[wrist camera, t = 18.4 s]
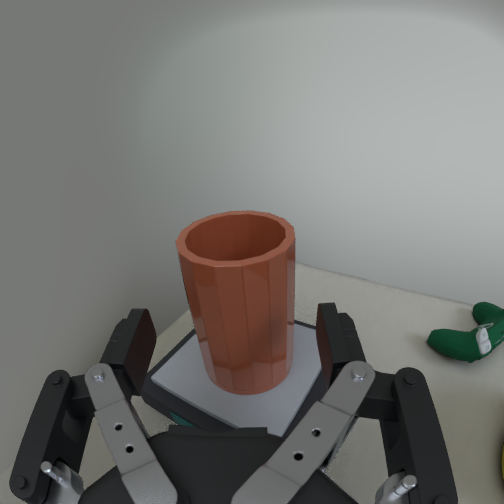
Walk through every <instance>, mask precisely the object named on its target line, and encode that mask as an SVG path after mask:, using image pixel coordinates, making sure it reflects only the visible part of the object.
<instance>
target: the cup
mask: <svg viewBox="0 0 504 504" xmlns="http://www.w3.org/2000/svg"><path fill="white" fill-rule="evenodd" d="M176 248H177V253H178V258H179V262H180V267H181V272H182V277H183V281H184V285H185V290H186V295H187V299H188V303H189V307H190V312H191V316H192V320H193V324H194V328H195V332H196V336H197V340H198V344H199V348H200V352H201V356H202V359H203V363H204V366H205V369H206V373H207V375H208V377H209V378H210V380H211V381H212V382H213V383H214V384H215V385H216V386H218V387H219V388H221V389H222V390H224V391H227V392H229V393H233V394H238V395H255V394H260V393H264V392H266V391H269V390H271V389H273V388H275V387H276V386H277V385H279V384H280V383H281V382H282V381H283V380H284V379H285V378H286V377H287V375H288V374H289V372H290V369H291V366H292V360H293V338H294V303H295V232H294V228H293V226H292V225H291V224H290V223H288V222H287V221H286V220H285V219H284V218H281V217H278V216H276V215H273V214H270V213H265V212H257V211H231V212H225V213H219V214H215V215H210V216H208V217H205V218H203V219H200V220H197V221H195V222H193V223H192V224H190V225H189V226H188V227H186V228H185V229H183V230H182V231H181V233H180V235H179V236H178V238H177V240H176Z"/></svg>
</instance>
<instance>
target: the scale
mask: <svg viewBox="0 0 504 504" xmlns="http://www.w3.org/2000/svg"><path fill="white" fill-rule="evenodd" d="M325 394H326V390H325V384H324V378H323V373H322V367H321V362H320V356H319V351H318V346H317V340H316V326H313V325H309V324H306V323H303V322H300V321H297V320H294V338H293V360H292V366H291V369H290V372H289V374H288V375H287V377H286V378H285V379H284V380H283V381H282V382H281V383H280V384H279V385H277V386H276V387H275V388H273V389H271V390H269V391H266V392H264V393H260V394H255V395H238V394H233V393H229V392H227V391H224V390H222V389H221V388H219V387H218V386H216V385H215V384H214V383H213V382H212V381H211V380H210V378H209V377H208V375H207V373H206V369H205V366H204V363H203V359H202V356H201V352H200V348H199V344H198V340H197V336H196V332H195V328H194V329H193V330H192V331H191V332H190V333H189V334H188V335H187V336H186V337H185V338H184V339H182V340H181V341H180V342H179V343H178V344H177V345H176V346H175V347H174V348H173V349H172V350H171V351H170V352H169V353H168V354H167V355H166V356H165V357H164V358H163V359H162V360H161V361H160V362H159V363H157V364H156V365H155V366H154V367H153V368H152V369H151V370H150V371H149V372H148V373H147V374H146V378H145V381H144V384H143V388H142V391H141V396H142V398H143V400H144V402H145V403H147V404H148V405H150V406H151V407H153V408H154V409H156V410H157V411H159V412H160V413H162V414H163V415H165V416H166V417H168V418H169V419H171V420H172V421H174V422H176V423H177V424H179V425H182V426H194V427H197V428H201V429H204V430H208V431H212V432H223V431H228V430H233V429H238V428H242V427H267V428H268V433H270V434H274V435H278V436H280V437H283V438H285V439H287V438H288V436H289V435H290V434H291V433H292V431H293V430H294V429H295V428H296V426H297V425H298V424H299V422H300V421H301V420H302V419H303V417H304V416H305V415H306V413H307V412H308V411H309V409H310V408H311V407H312V405H313V404H314V403H315V402H316V401H317V400H321V399H322V398H323V397H324V395H325Z"/></svg>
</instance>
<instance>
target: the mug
mask: <svg viewBox="0 0 504 504" xmlns="http://www.w3.org/2000/svg"><path fill="white" fill-rule="evenodd" d="M501 462H502V472H503V479H504V444H503V453H502V461H501Z"/></svg>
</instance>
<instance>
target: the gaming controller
mask: <svg viewBox="0 0 504 504" xmlns="http://www.w3.org/2000/svg"><path fill="white" fill-rule="evenodd" d="M473 316H474V318H475V319H476V320H477V321H478V322H479V323H480V325H479V326H478V327H476V328H475V329H474V330H472V331H471V332H463V331H456V330H450V329H438V330H433V331H432V332H431V334H430V336H429V338H428V340H427V343H428V344H429V345H430V346H432V347H433V348H434V349H436V350H437V351H439V352H441V353H442V354H444V355H446V356H449V357H452V358H455V359H458V360H462V361H468V363H472V362H474V361H475V360H480V359H481V358H483V357H485V356H487V355H488V354H489V353H491V352H492V350H493V349H495V348H496V347H497V346H498V345H499V344H500V343H501V342H502V341H504V309H502V308H500V307H498V306H496V305H494V304H491V303H487V302H480V303H477V304H476V305H475V306H474V307H473Z"/></svg>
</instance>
